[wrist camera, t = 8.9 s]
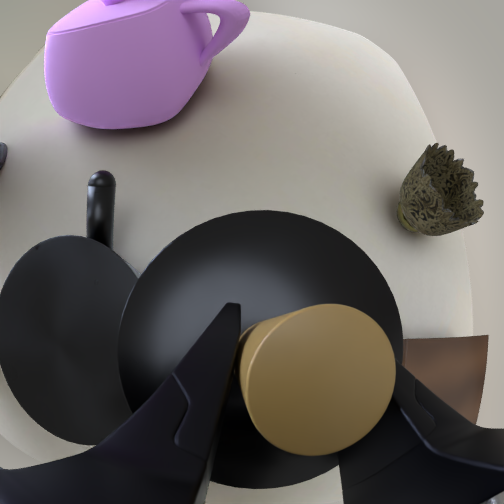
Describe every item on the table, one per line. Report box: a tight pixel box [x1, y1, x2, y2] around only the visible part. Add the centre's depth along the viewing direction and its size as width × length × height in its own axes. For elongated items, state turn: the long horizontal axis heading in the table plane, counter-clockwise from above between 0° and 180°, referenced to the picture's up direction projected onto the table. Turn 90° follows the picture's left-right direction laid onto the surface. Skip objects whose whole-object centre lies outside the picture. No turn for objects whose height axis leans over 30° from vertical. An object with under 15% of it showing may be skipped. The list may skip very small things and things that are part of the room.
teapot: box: [44, 0, 250, 129], centre depth 19 cm, size 23×21×15 cm
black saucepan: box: [0, 171, 141, 445], centre depth 15 cm, size 18×13×6 cm
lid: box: [117, 210, 403, 489], centre depth 7 cm, size 11×11×6 cm
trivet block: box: [402, 335, 488, 425], centre depth 16 cm, size 11×11×5 cm
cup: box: [397, 143, 484, 236], centre depth 20 cm, size 8×7×8 cm
